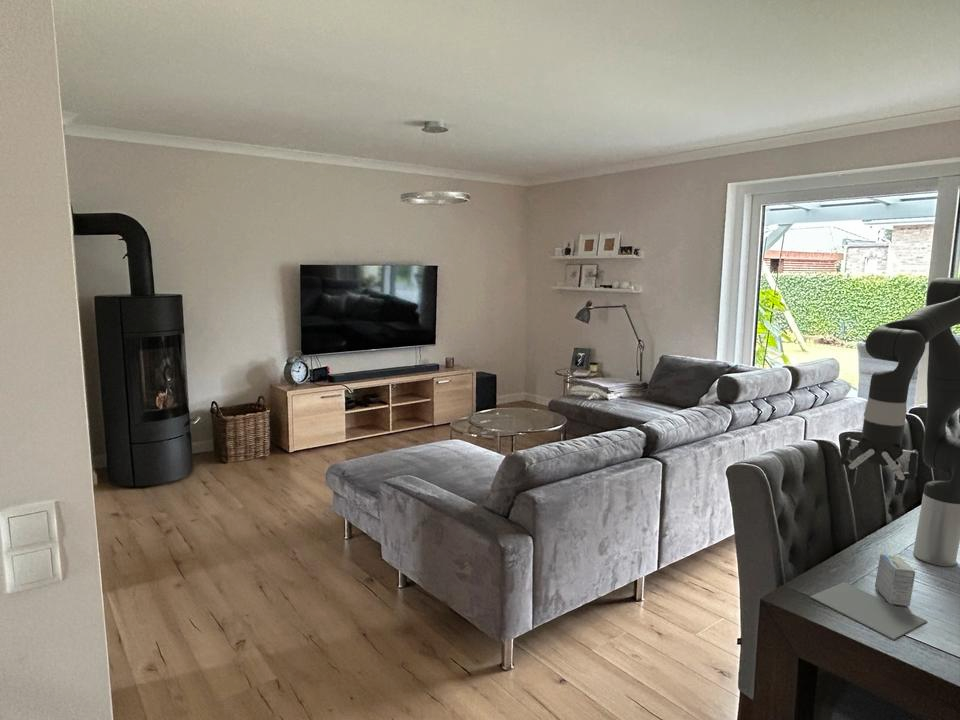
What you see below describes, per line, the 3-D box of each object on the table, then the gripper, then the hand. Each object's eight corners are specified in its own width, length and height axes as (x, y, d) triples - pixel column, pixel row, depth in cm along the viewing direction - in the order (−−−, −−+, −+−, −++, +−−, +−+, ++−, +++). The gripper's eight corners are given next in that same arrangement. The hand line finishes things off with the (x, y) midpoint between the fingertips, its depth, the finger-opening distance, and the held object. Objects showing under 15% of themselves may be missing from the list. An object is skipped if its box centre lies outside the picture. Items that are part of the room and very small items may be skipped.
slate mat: (843, 583, 150) (844, 581, 150) (927, 621, 135) (927, 620, 135) (810, 597, 143) (810, 596, 143) (893, 640, 128) (893, 638, 128)
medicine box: (909, 607, 140) (916, 571, 139) (888, 604, 141) (894, 568, 140) (894, 590, 148) (900, 556, 147) (873, 587, 149) (880, 553, 148)
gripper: (926, 422, 134) (915, 493, 137) (851, 410, 143) (842, 476, 146) (921, 429, 129) (909, 503, 131) (843, 416, 138) (834, 485, 141)
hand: (874, 489), depth 139 cm, fingers open, 8 cm apart
